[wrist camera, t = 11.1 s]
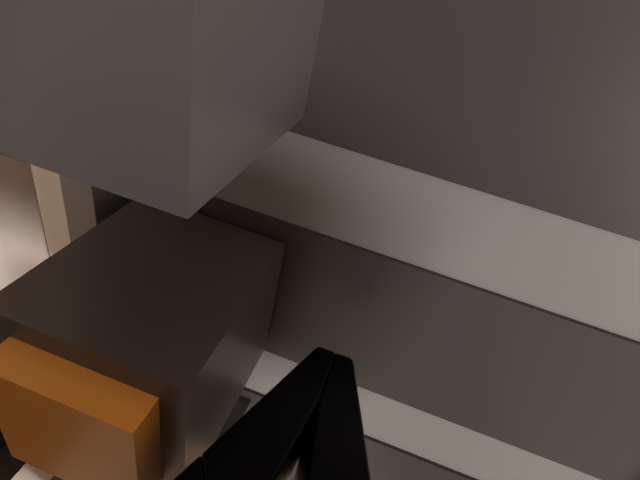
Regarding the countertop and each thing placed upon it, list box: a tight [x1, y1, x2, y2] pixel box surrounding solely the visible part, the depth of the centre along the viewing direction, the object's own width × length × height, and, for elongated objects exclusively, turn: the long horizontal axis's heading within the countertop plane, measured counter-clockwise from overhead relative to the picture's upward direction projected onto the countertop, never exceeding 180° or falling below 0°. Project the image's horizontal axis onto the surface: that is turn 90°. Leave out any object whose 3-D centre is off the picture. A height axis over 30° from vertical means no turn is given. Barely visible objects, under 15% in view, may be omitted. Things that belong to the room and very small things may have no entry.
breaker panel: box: [0, 0, 640, 480], centre depth 9 cm, size 20×17×5 cm
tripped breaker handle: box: [0, 200, 285, 480], centre depth 9 cm, size 4×4×5 cm
